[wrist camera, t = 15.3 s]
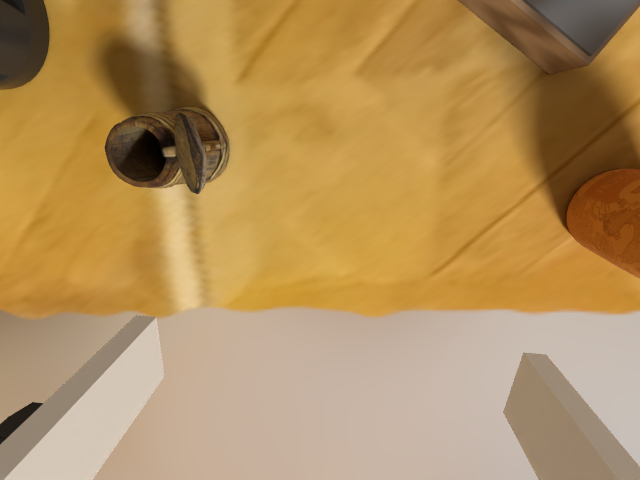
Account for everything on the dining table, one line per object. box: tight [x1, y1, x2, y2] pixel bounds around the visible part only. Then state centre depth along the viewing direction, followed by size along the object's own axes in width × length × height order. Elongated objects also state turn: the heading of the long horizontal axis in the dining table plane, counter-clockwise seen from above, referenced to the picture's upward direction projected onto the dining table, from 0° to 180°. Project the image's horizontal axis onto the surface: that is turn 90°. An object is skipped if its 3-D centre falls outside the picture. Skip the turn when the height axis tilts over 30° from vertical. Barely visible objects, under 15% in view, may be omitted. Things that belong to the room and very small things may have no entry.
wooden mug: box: [105, 107, 229, 194], centre depth 31 cm, size 9×14×18 cm, turn 94°
